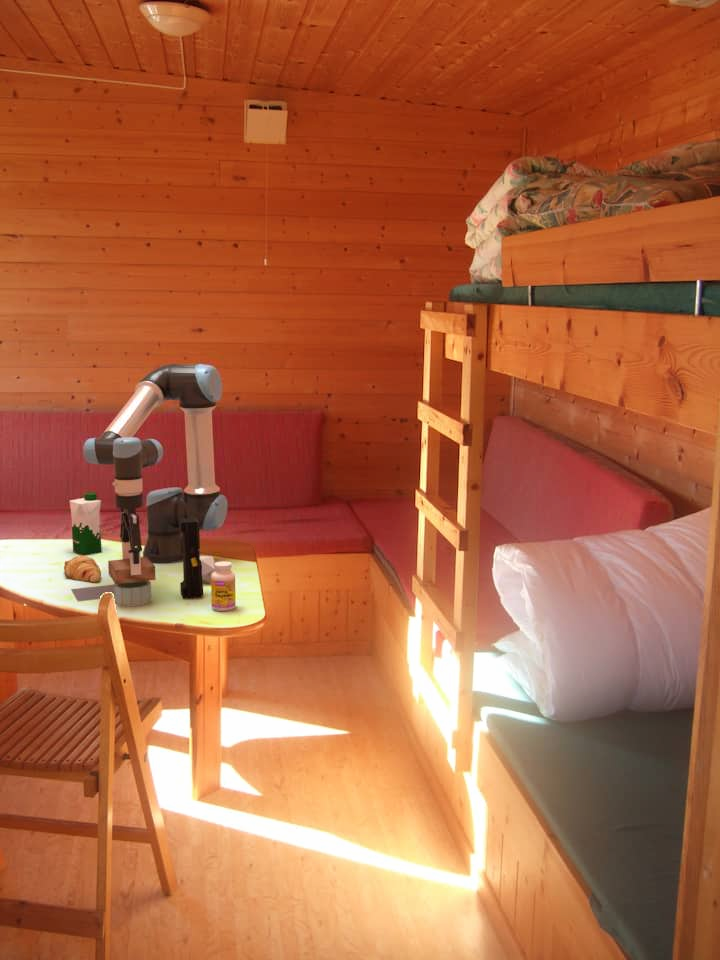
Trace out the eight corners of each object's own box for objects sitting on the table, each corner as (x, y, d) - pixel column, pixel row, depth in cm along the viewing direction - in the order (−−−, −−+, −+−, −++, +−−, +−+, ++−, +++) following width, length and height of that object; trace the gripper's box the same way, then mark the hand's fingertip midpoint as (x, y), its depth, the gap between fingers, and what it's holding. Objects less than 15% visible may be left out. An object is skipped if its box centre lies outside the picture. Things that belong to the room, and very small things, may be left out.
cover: (147, 570, 285) (146, 556, 284) (155, 579, 275) (155, 566, 274) (108, 574, 280) (108, 560, 279) (115, 584, 270) (115, 570, 270)
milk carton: (105, 552, 334) (103, 494, 330) (80, 556, 328) (78, 498, 324) (93, 547, 340) (90, 490, 337) (68, 551, 334) (66, 494, 331)
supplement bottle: (211, 612, 269) (210, 567, 267) (211, 605, 276) (210, 560, 274) (236, 611, 270) (235, 566, 268) (235, 604, 277) (234, 560, 275)
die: (201, 589, 293) (220, 562, 294) (179, 573, 295) (198, 547, 296) (209, 591, 301) (227, 565, 302) (187, 575, 303) (205, 550, 304)
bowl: (146, 594, 285) (146, 576, 284) (154, 604, 276) (153, 585, 275) (111, 598, 281) (111, 580, 280) (118, 608, 272) (117, 589, 271)
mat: (115, 585, 295) (115, 584, 295) (123, 597, 283) (123, 596, 283) (71, 590, 289) (71, 589, 289) (77, 602, 278) (77, 601, 278)
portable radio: (204, 598, 282) (202, 513, 277) (183, 600, 280) (181, 514, 276) (201, 591, 289) (199, 508, 285) (180, 592, 287) (178, 509, 283)
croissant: (107, 593, 299) (117, 569, 300) (79, 584, 292) (90, 559, 293) (74, 577, 314) (84, 554, 315) (48, 568, 307) (58, 544, 308)
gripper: (107, 487, 282) (110, 560, 286) (123, 502, 261) (126, 581, 265) (133, 485, 285) (136, 558, 289) (151, 499, 264) (154, 578, 268)
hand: (131, 569), depth 277 cm, fingers closed on cover, 11 cm apart
